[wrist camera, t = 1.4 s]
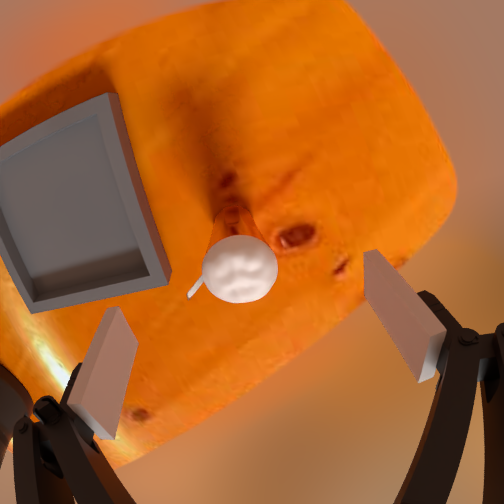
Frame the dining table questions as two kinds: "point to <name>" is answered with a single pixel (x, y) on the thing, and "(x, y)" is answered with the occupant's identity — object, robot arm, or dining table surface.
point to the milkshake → (237, 259)
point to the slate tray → (77, 211)
